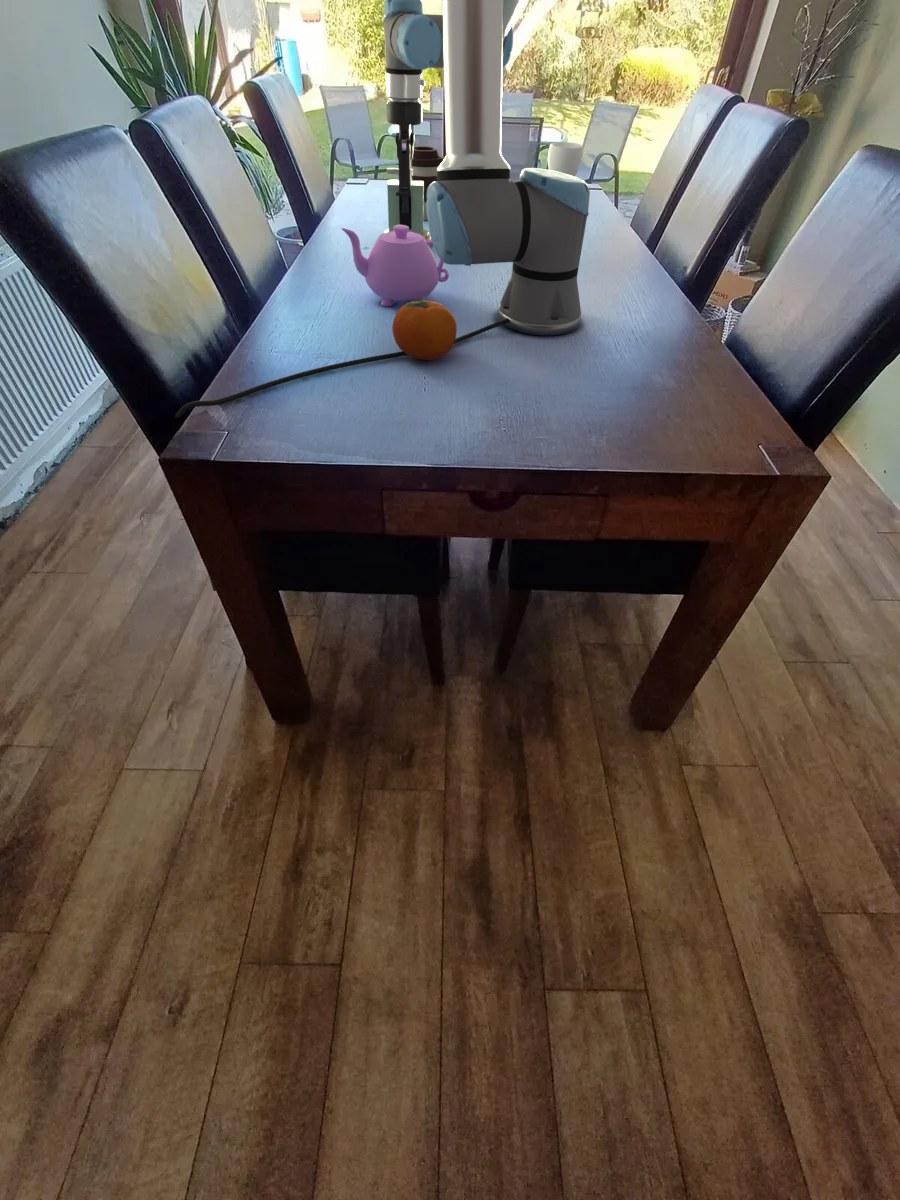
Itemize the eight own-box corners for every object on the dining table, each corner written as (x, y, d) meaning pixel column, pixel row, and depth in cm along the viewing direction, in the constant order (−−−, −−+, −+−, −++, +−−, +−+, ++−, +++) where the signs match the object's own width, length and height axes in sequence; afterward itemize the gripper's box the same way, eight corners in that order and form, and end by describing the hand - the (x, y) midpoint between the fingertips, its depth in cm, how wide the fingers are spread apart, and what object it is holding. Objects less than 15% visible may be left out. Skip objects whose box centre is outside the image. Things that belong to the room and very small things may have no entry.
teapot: (346, 311, 118) (340, 237, 109) (346, 285, 128) (341, 215, 119) (452, 310, 120) (454, 237, 111) (444, 285, 130) (446, 216, 121)
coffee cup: (449, 216, 169) (451, 148, 158) (428, 224, 163) (429, 154, 152) (418, 210, 172) (418, 143, 162) (397, 217, 166) (396, 148, 156)
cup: (547, 221, 169) (556, 148, 158) (536, 212, 175) (544, 141, 164) (578, 220, 170) (589, 148, 159) (566, 211, 177) (576, 141, 165)
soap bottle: (428, 243, 145) (428, 174, 136) (383, 242, 145) (380, 173, 136) (428, 230, 153) (429, 165, 144) (385, 229, 153) (383, 163, 143)
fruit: (468, 356, 105) (471, 307, 100) (422, 374, 100) (423, 322, 94) (425, 337, 110) (425, 288, 105) (379, 352, 105) (377, 302, 100)
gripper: (421, 107, 124) (421, 236, 140) (423, 94, 139) (423, 213, 155) (383, 105, 124) (387, 235, 140) (389, 93, 138) (392, 211, 154)
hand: (406, 223), depth 147 cm, fingers open, 8 cm apart
